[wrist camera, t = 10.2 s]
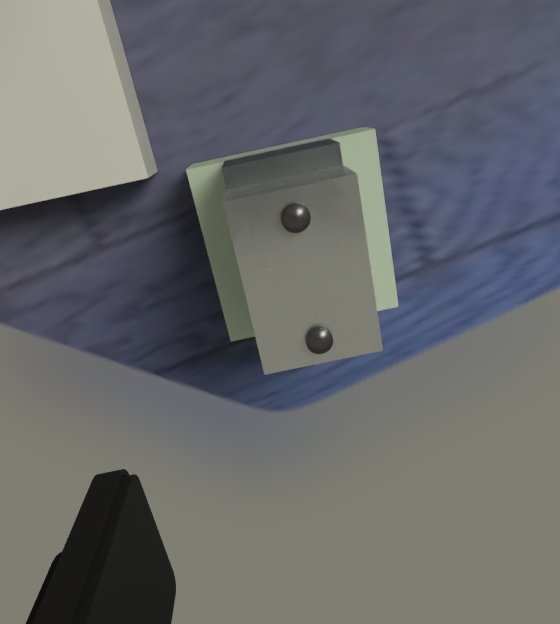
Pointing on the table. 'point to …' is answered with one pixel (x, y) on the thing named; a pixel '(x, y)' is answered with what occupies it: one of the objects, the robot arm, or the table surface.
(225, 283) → the stand
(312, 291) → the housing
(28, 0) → the stand
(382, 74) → the table surface
